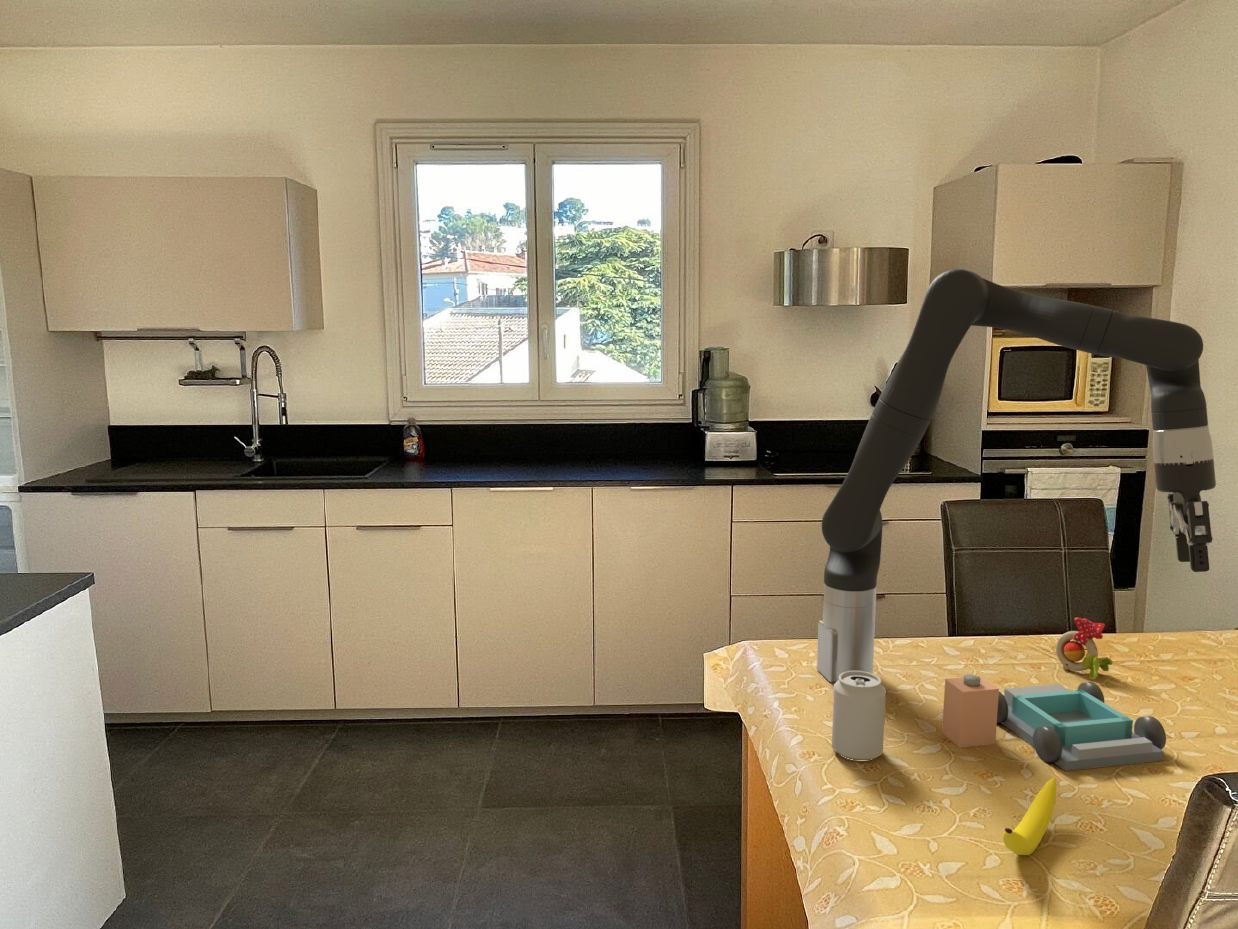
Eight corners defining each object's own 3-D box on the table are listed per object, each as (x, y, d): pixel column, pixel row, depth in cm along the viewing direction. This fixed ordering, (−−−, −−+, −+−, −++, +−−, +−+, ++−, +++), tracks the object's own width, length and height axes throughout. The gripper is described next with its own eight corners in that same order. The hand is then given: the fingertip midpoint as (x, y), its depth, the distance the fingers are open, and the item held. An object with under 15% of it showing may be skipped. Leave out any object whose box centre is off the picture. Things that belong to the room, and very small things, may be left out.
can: (884, 745, 138) (887, 671, 136) (881, 768, 131) (884, 690, 129) (834, 737, 140) (836, 665, 138) (829, 760, 133) (831, 684, 131)
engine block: (959, 747, 137) (963, 685, 135) (942, 732, 142) (945, 672, 140) (995, 744, 138) (999, 682, 136) (976, 729, 143) (980, 669, 141)
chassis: (1057, 772, 129) (1060, 739, 128) (979, 712, 149) (980, 683, 148) (1169, 760, 132) (1172, 728, 132) (1078, 703, 152) (1080, 675, 151)
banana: (1064, 815, 118) (1067, 770, 117) (1017, 884, 104) (1021, 834, 103) (1040, 807, 120) (1044, 763, 119) (991, 874, 106) (995, 825, 105)
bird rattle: (1060, 686, 164) (1111, 680, 157) (1039, 627, 165) (1089, 618, 159) (1072, 676, 168) (1122, 670, 162) (1051, 619, 170) (1100, 610, 163)
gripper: (1145, 458, 141) (1154, 560, 142) (1164, 463, 128) (1174, 576, 128) (1200, 453, 139) (1210, 557, 139) (1225, 458, 125) (1236, 573, 126)
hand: (1193, 566), depth 134 cm, fingers open, 8 cm apart
